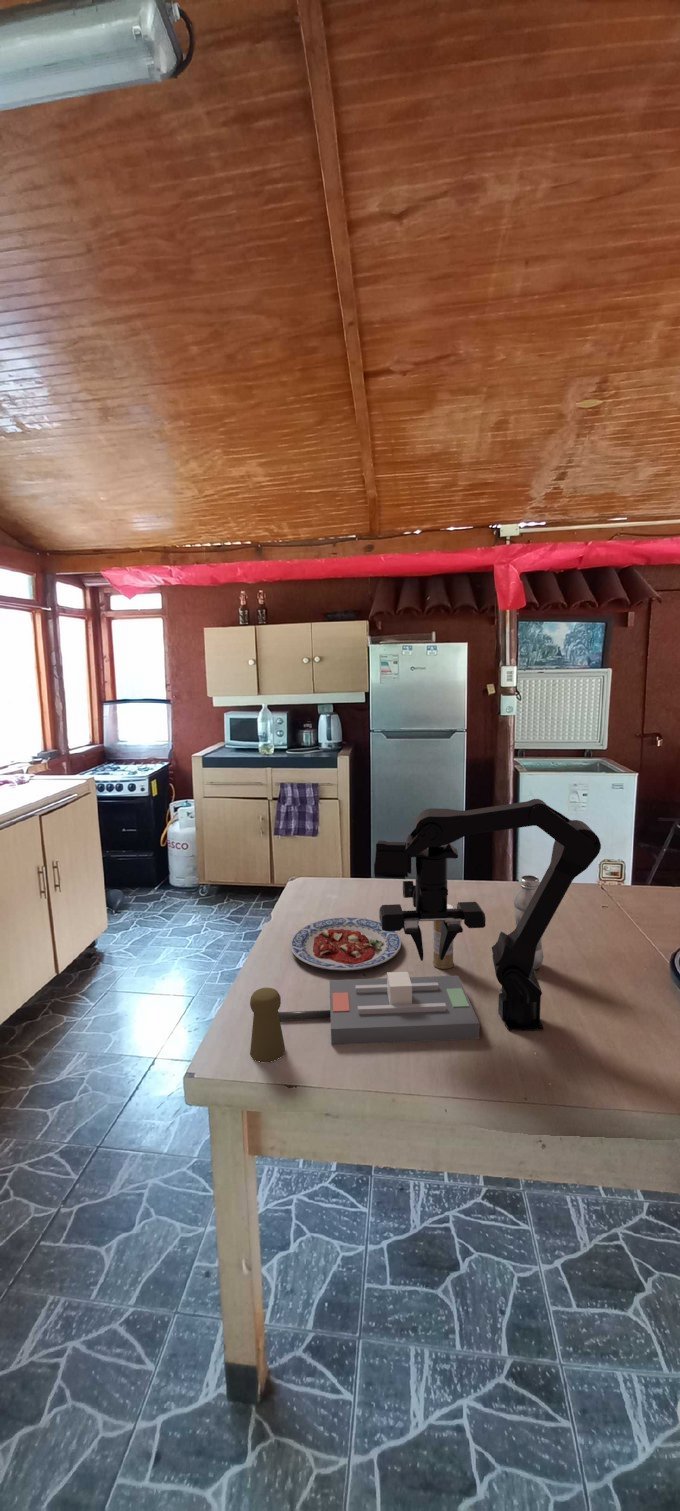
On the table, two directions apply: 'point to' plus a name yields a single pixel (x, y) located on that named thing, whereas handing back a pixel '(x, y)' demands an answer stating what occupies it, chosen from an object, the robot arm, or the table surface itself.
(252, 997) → the olive peg pawn
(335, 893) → the table surface
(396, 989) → the switch knob
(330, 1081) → the table surface
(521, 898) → the plastic bottle
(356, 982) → the slider switch base
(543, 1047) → the table surface
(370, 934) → the ceramic plate
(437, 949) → the sprinkles bottle
